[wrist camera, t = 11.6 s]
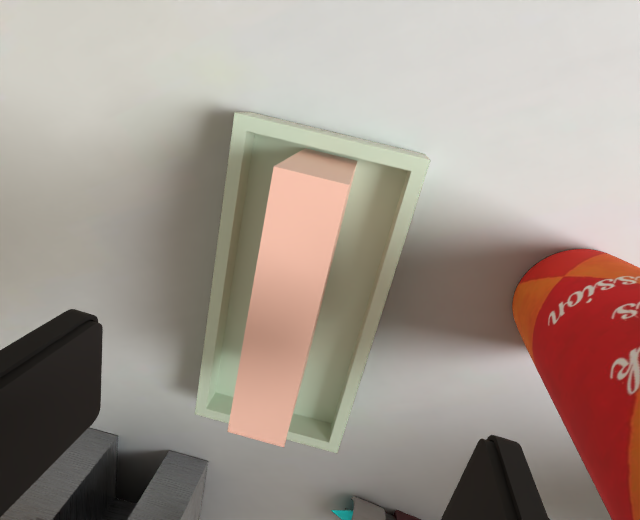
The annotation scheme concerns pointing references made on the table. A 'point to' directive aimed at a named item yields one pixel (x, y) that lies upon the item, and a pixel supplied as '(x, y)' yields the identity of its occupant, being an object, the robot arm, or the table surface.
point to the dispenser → (110, 487)
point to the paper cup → (590, 362)
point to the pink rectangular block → (288, 290)
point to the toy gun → (370, 512)
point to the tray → (344, 278)
